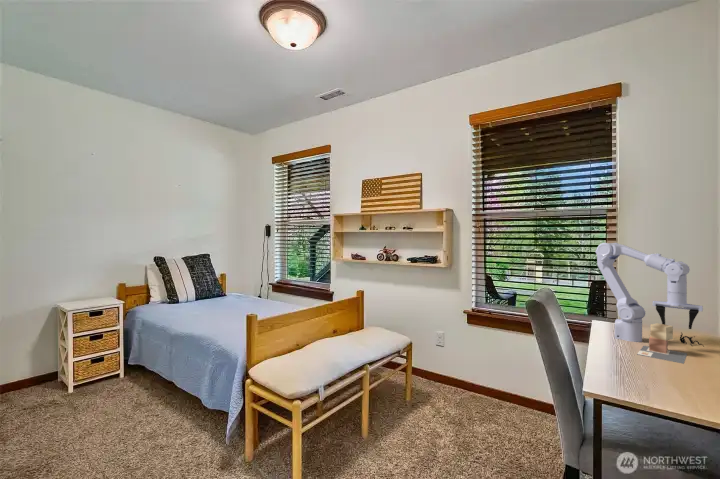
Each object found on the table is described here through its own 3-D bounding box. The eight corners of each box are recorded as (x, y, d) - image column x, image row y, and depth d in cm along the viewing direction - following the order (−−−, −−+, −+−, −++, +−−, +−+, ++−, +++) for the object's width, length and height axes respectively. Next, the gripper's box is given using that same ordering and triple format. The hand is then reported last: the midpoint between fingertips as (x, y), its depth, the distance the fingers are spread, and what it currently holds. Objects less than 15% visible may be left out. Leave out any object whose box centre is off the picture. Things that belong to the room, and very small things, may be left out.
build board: (636, 356, 130) (636, 354, 130) (643, 347, 141) (643, 345, 141) (683, 365, 121) (683, 363, 121) (687, 355, 132) (687, 353, 132)
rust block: (649, 350, 135) (649, 337, 135) (651, 347, 138) (651, 335, 138) (666, 353, 131) (666, 340, 131) (667, 350, 135) (667, 338, 135)
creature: (703, 348, 144) (678, 340, 149) (707, 336, 143) (681, 329, 148) (702, 353, 138) (676, 344, 144) (707, 340, 137) (680, 332, 143)
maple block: (650, 337, 136) (650, 324, 136) (657, 335, 138) (657, 323, 138) (666, 340, 131) (666, 327, 131) (672, 338, 134) (672, 326, 134)
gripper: (651, 291, 139) (651, 325, 139) (702, 295, 128) (701, 332, 128) (654, 289, 143) (653, 322, 143) (703, 293, 133) (703, 328, 133)
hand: (676, 326), depth 136 cm, fingers open, 7 cm apart
